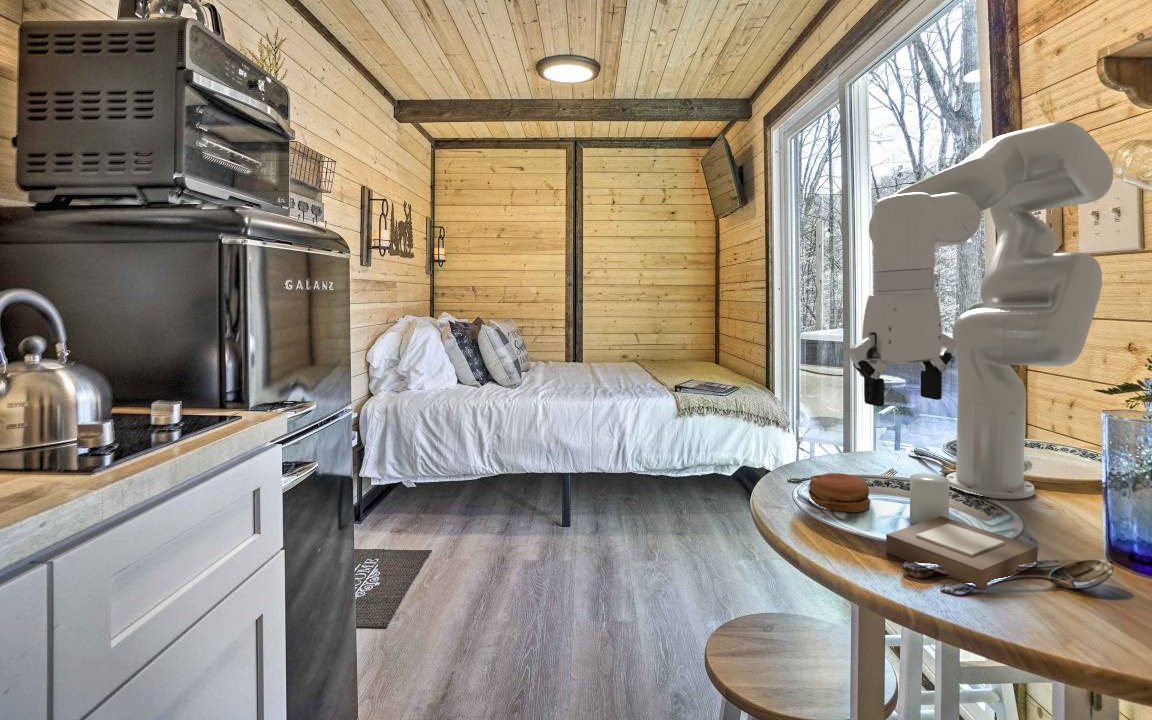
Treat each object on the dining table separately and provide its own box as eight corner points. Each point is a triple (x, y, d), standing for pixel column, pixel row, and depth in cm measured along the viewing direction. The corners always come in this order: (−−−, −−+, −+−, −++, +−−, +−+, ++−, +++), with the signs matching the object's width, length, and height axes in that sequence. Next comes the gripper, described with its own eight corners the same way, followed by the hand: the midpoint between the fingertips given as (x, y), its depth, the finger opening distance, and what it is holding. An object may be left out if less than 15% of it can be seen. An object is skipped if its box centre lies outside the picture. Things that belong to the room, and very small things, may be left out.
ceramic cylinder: (922, 514, 89) (923, 471, 88) (955, 525, 85) (956, 479, 84) (902, 521, 87) (902, 477, 86) (935, 532, 82) (935, 486, 82)
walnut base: (940, 532, 82) (941, 514, 82) (1036, 565, 72) (1037, 544, 71) (886, 551, 77) (886, 532, 77) (981, 590, 66) (981, 567, 66)
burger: (879, 514, 90) (879, 486, 90) (818, 515, 91) (818, 487, 91) (856, 493, 100) (856, 468, 100) (801, 494, 101) (801, 469, 101)
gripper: (932, 281, 86) (931, 392, 88) (832, 287, 83) (833, 403, 84) (977, 279, 79) (974, 400, 81) (869, 286, 75) (869, 412, 77)
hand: (902, 401), depth 83 cm, fingers open, 9 cm apart
